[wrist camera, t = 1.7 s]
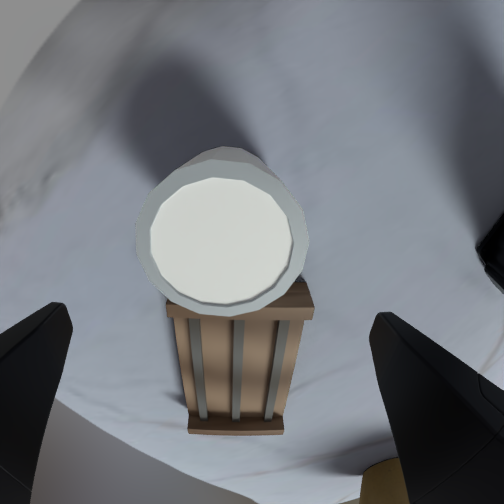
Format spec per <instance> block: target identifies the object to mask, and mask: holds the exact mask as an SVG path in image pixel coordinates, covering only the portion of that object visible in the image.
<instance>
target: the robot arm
mask: <svg viewBox="0 0 504 504" xmlns="http://www.w3.org/2000/svg"><path fill="white" fill-rule="evenodd" d="M477 254H478V255H479V257H480V258H481V260H482V261H483V263H484V264H485V267H484V271H485V272H486V274H487V275H488V277H489V278H490V280H491V281H492V283H493V284H494V285H495V286H496V287H497V288H498V289H499V290H500V291H501V292H502V293H503V294H504V214H503V216H502V217H501V218H500V220H499V221H498V222H497V224H496V225H495V226H494V228H493V229H492V230H491V232H490V233H489V234H488V236H487V237H486V238H485V239H484V241H483V242H482V243H481V245H480V246H479V247H478V249H477ZM72 332H73V326H72V322H71V319H70V316H69V314H68V311H67V308H66V306H65V304H63V303H59V302H51V303H50V304H48V305H46V306H45V307H43V308H41V309H40V310H38V311H36V312H35V313H33V314H31V315H30V316H28V317H27V318H25V319H23V320H22V321H20V322H19V323H17V324H15V325H14V326H12V327H11V328H9V329H7V330H6V331H4V332H3V333H1V334H0V504H30V499H31V493H32V492H31V491H32V486H33V481H34V476H35V471H36V466H37V462H38V457H39V453H40V448H41V444H42V440H43V436H44V433H45V429H46V425H47V421H48V418H49V414H50V411H51V408H52V404H53V401H54V398H55V395H56V391H57V388H58V385H59V382H60V379H61V376H62V372H63V368H64V364H65V360H66V356H67V352H68V348H69V344H70V340H71V336H72ZM369 342H370V347H371V351H372V356H373V361H374V366H375V371H376V376H377V381H378V385H379V389H380V392H381V396H382V399H383V402H384V406H385V409H386V412H387V416H388V419H389V423H390V426H391V430H392V434H393V437H394V441H395V445H396V449H397V452H398V456H399V460H400V464H401V468H402V472H403V476H404V481H405V485H406V489H407V494H408V498H409V503H410V504H504V390H502V389H500V388H499V387H497V386H496V385H495V384H493V383H492V382H490V381H489V380H487V379H486V378H485V377H483V376H482V375H481V374H478V373H477V372H476V371H475V370H474V369H472V368H471V367H469V366H468V365H467V364H465V363H464V362H462V361H461V360H460V359H458V358H457V357H455V356H454V355H453V354H451V353H450V352H448V351H447V350H446V349H444V348H443V347H441V346H440V345H438V344H437V343H436V342H434V341H433V340H431V339H430V338H428V337H427V336H426V335H424V334H423V333H421V332H420V331H418V330H417V329H415V328H414V327H413V326H411V325H410V324H408V323H407V322H405V321H404V320H402V319H401V318H399V317H398V316H397V315H395V314H394V313H392V312H379V313H378V314H377V315H376V317H375V320H374V323H373V326H372V329H371V331H370V335H369Z"/></svg>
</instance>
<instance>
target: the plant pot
mask: <svg viewBox="0 0 504 504" xmlns="http://www.w3.org/2000/svg"><path fill="white" fill-rule="evenodd" d="M359 504H410V503H409V498H408V494H407V489H406V485H405V481H404V476H403V472H402V468H401V464H400V460H399V458H393V459H389V460H386V461H383V462H380V463H378V464H376V465H374V466H372V467H370V468H368V469H367V470H366V471H365V472H364V473H363V478H362V484H361V492H360V502H359Z"/></svg>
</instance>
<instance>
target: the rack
mask: <svg viewBox="0 0 504 504" xmlns="http://www.w3.org/2000/svg"><path fill="white" fill-rule="evenodd" d="M314 308H315V307H314V304H313V301H312V298H311V295H310V292H309V289H308V286H307V283H306V282H293V283H292V285H291V286H290V287H289V289H288V290H287V291H286V293H285V294H284V295H282V296H281V297H279V298H277V299H276V300H274V301H273V302H271V303H269V304H268V305H266V306H265V307H263V308H261V309H260V310H257V311H252V312H248V313H244V314H239V315H235V316H230V317H228V316H217V315H206V314H199V313H196V312H194V311H192V310H189V309H187V308H185V307H182V306H180V305H178V304H176V303H173V302H171V301H170V300H169V299H167V302H166V309H167V317H173V318H174V325H175V333H176V340H177V347H178V354H179V361H180V367H181V374H182V380H183V386H184V391H185V397H186V403H187V408H188V413H189V419H188V433H189V434H203V435H234V436H252V435H283V432H284V424H283V413H284V409H285V405H286V400H287V396H288V392H289V388H290V384H291V379H292V375H293V371H294V366H295V362H296V357H297V353H298V348H299V343H300V339H301V334H302V329H303V324H304V320H312V318H313V313H314Z"/></svg>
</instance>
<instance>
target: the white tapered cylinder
mask: <svg viewBox="0 0 504 504" xmlns="http://www.w3.org/2000/svg"><path fill="white" fill-rule="evenodd" d="M308 245H309V237H308V232H307V227H306V222H305V217H304V212H303V209H302V208H301V206H300V205H299V204H298V202H297V201H296V200H295V198H294V197H293V195H292V194H291V193H290V191H289V190H288V189H287V187H286V186H285V185H284V183H283V182H282V181H281V180H280V179H279V178H278V177H277V176H276V175H275V174H274V173H273V172H272V171H271V170H270V169H269V168H268V167H267V166H266V165H265V164H264V163H263V162H262V161H261V160H260V159H259V158H258V157H257V156H255V155H253V154H251V153H249V152H248V151H246V150H244V149H242V148H235V147H226V146H221V147H217V148H214V149H210V150H207V151H204V152H202V153H200V154H199V155H197V156H196V157H194V158H193V159H191V160H190V161H188V162H187V163H185V164H184V165H182V166H181V167H179V168H178V169H176V170H175V171H173V172H172V173H171V174H170V175H169V176H168V177H167V178H165V179H164V180H163V181H162V182H161V183H160V184H159V185H157V186H156V187H155V188H154V189H153V190H152V191H151V192H150V193H149V194H148V196H147V198H146V200H145V202H144V205H143V207H142V209H141V212H140V214H139V216H138V219H137V221H136V253H137V256H138V258H139V260H140V263H141V265H142V267H143V269H144V271H145V273H146V275H147V277H148V279H149V281H150V282H151V283H152V284H153V285H154V286H155V287H156V288H157V289H158V290H159V291H160V292H162V293H163V294H164V295H165V296H166V297H167V298H168V299H169V300H170V301H171V302H173V303H176V304H178V305H180V306H182V307H185V308H187V309H189V310H192V311H194V312H196V313H199V314H206V315H217V316H228V317H230V316H235V315H239V314H244V313H248V312H252V311H257V310H260V309H261V308H263V307H265V306H266V305H268V304H269V303H271V302H273V301H274V300H276V299H277V298H279V297H281V296H282V295H284V294H285V293H286V291H287V290H288V289H289V287H290V286H291V285H292V283H293V282H294V281H295V279H296V278H297V277H298V276H299V274H300V273H301V271H302V269H303V265H304V261H305V257H306V253H307V249H308Z"/></svg>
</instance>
